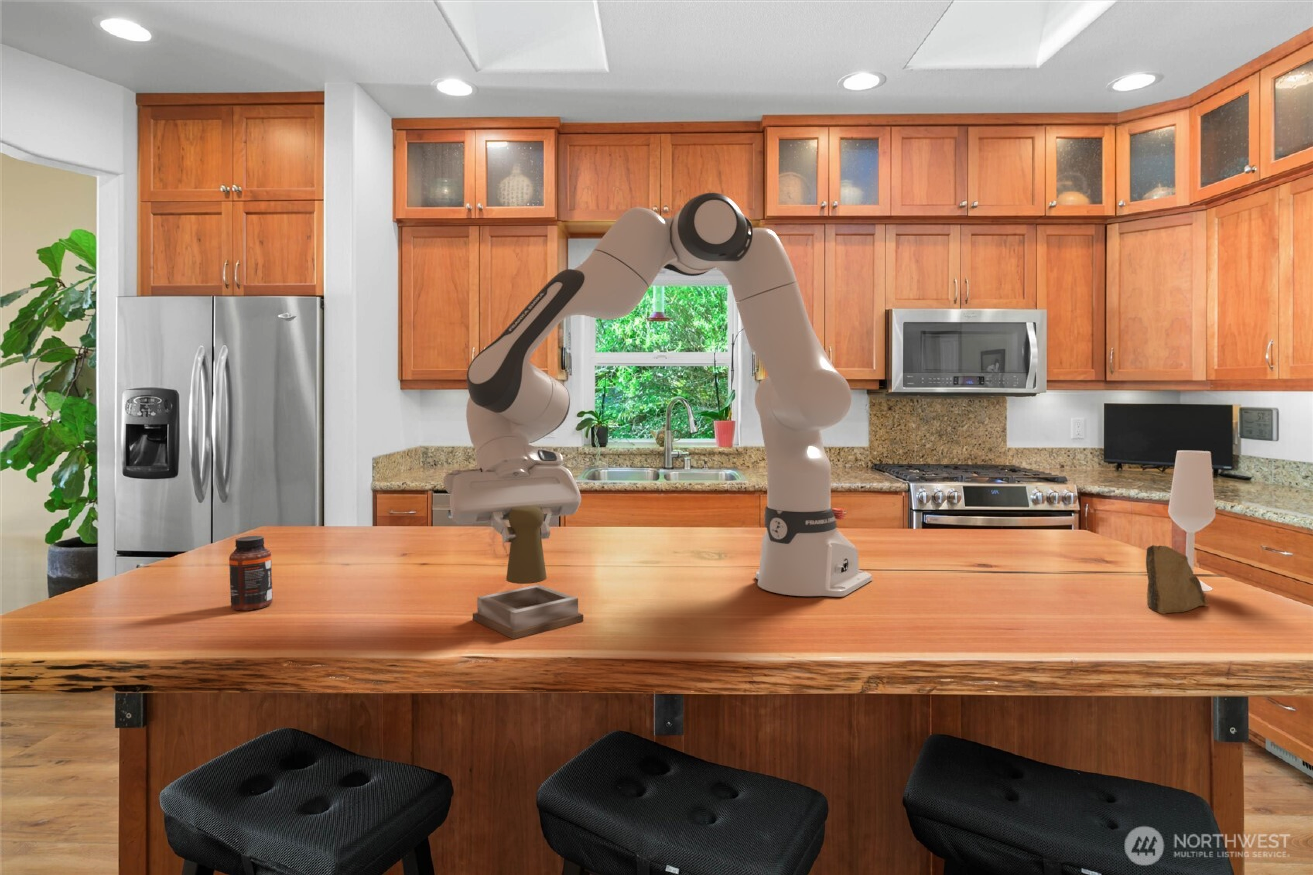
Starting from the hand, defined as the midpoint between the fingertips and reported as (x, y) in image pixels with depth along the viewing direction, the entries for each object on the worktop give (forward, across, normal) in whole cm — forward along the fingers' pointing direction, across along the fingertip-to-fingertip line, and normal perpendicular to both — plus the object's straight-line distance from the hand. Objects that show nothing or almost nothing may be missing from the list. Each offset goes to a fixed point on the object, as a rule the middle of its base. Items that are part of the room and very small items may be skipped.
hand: (527, 538), depth 106 cm
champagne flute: (+36, +109, -19) cm, 116 cm away
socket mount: (+9, 0, +9) cm, 13 cm away
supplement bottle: (-12, -36, +31) cm, 49 cm away
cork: (+4, 0, +5) cm, 6 cm away
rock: (+41, +93, -23) cm, 104 cm away
